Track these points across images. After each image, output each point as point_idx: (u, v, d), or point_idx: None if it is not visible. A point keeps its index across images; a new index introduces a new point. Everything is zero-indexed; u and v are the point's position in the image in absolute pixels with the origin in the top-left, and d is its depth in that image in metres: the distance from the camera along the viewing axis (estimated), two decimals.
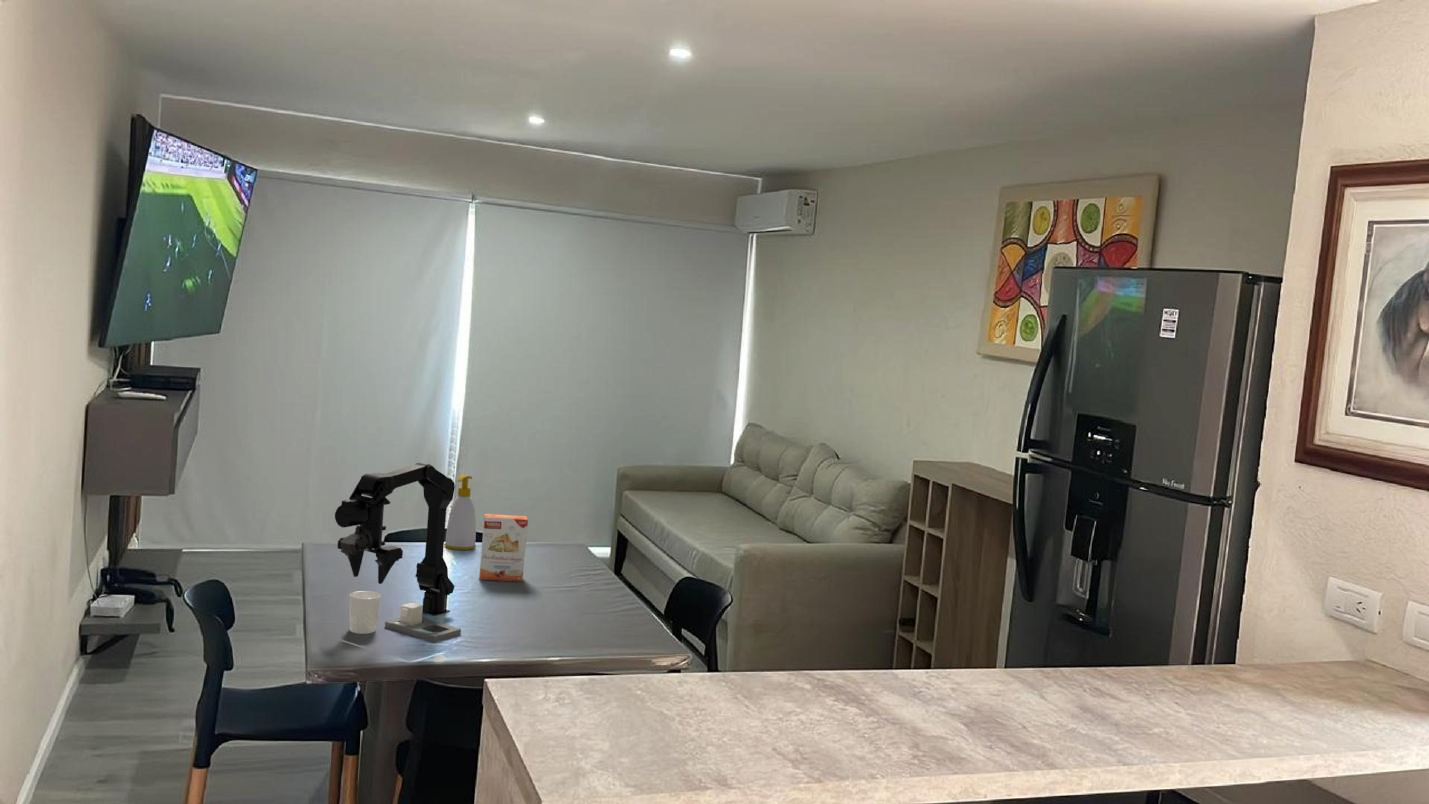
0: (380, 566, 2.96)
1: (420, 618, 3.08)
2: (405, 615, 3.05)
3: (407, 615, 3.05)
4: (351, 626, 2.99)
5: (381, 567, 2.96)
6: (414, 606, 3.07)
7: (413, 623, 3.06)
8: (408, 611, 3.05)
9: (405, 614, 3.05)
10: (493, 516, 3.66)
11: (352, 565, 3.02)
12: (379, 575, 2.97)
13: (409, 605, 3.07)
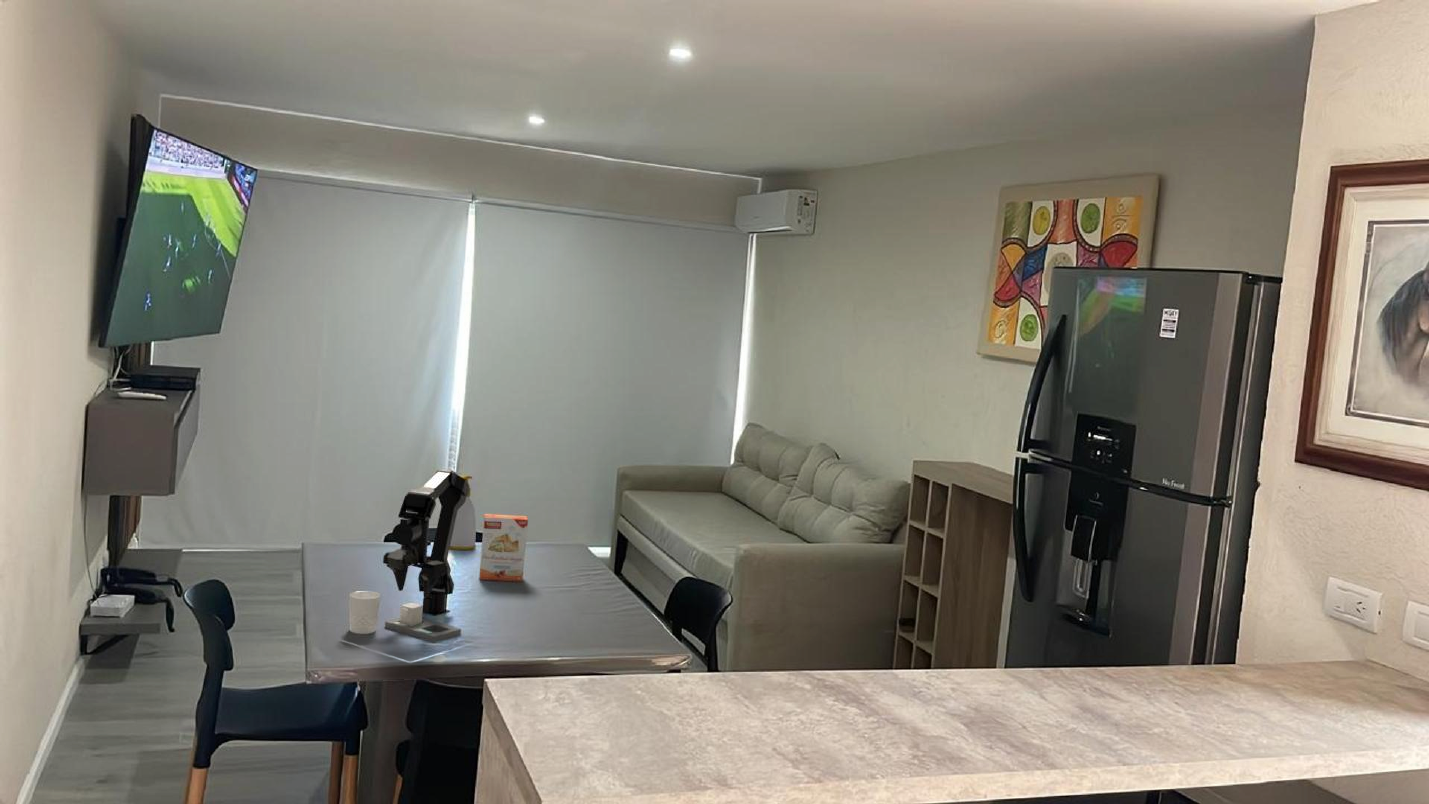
0: (426, 581, 3.03)
1: (420, 618, 3.08)
2: (405, 615, 3.05)
3: (407, 615, 3.05)
4: (351, 626, 2.99)
5: (427, 582, 3.03)
6: (414, 606, 3.07)
7: (413, 623, 3.06)
8: (408, 611, 3.05)
9: (405, 614, 3.05)
10: (493, 516, 3.66)
11: (397, 579, 3.09)
12: (424, 589, 3.04)
13: (409, 605, 3.07)
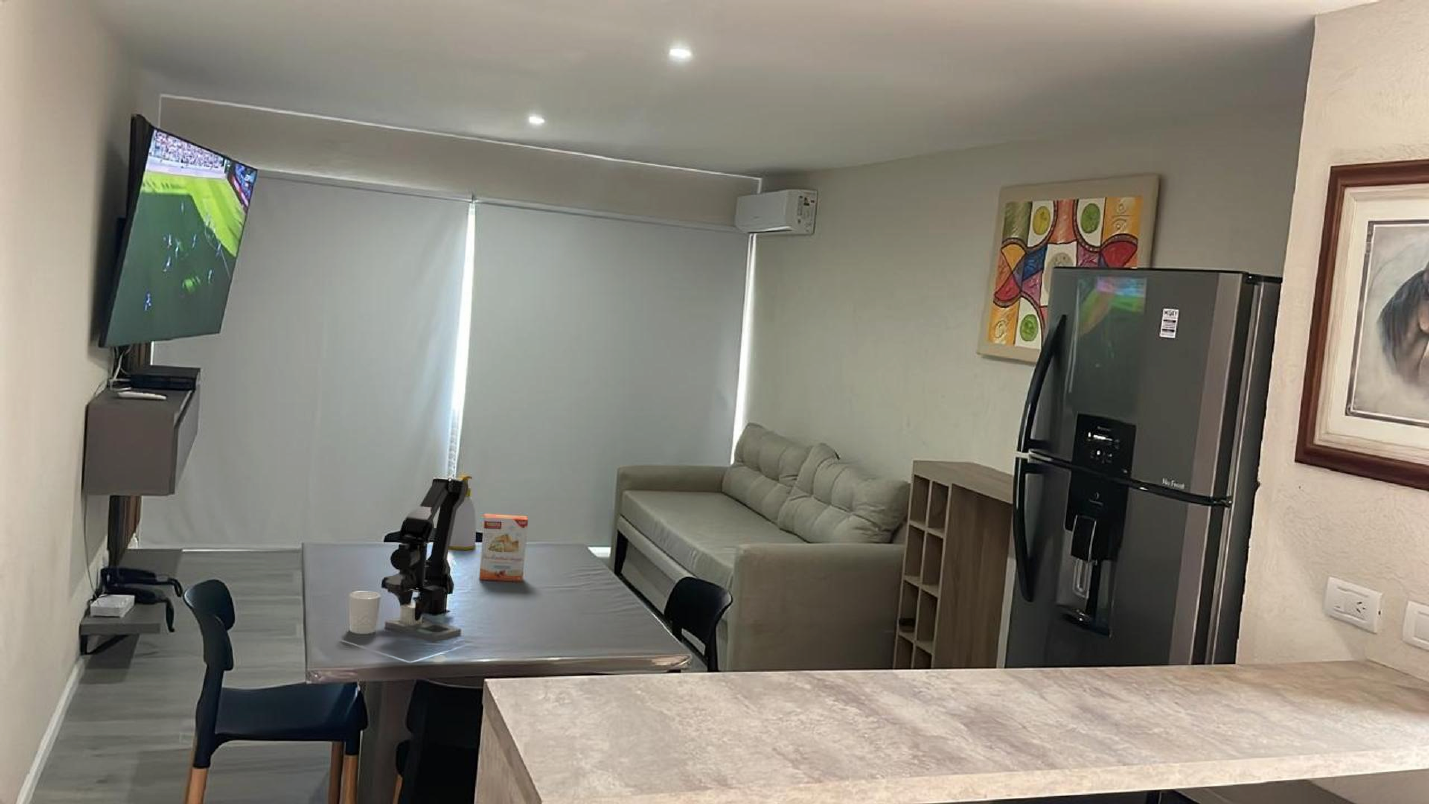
0: (417, 603, 3.05)
1: (420, 618, 3.08)
2: (405, 615, 3.05)
3: (407, 615, 3.05)
4: (351, 626, 2.99)
5: (418, 604, 3.05)
6: (414, 606, 3.07)
7: (413, 623, 3.06)
8: (408, 611, 3.05)
9: (405, 614, 3.05)
10: (493, 516, 3.66)
11: None
12: (416, 612, 3.06)
13: (409, 605, 3.07)
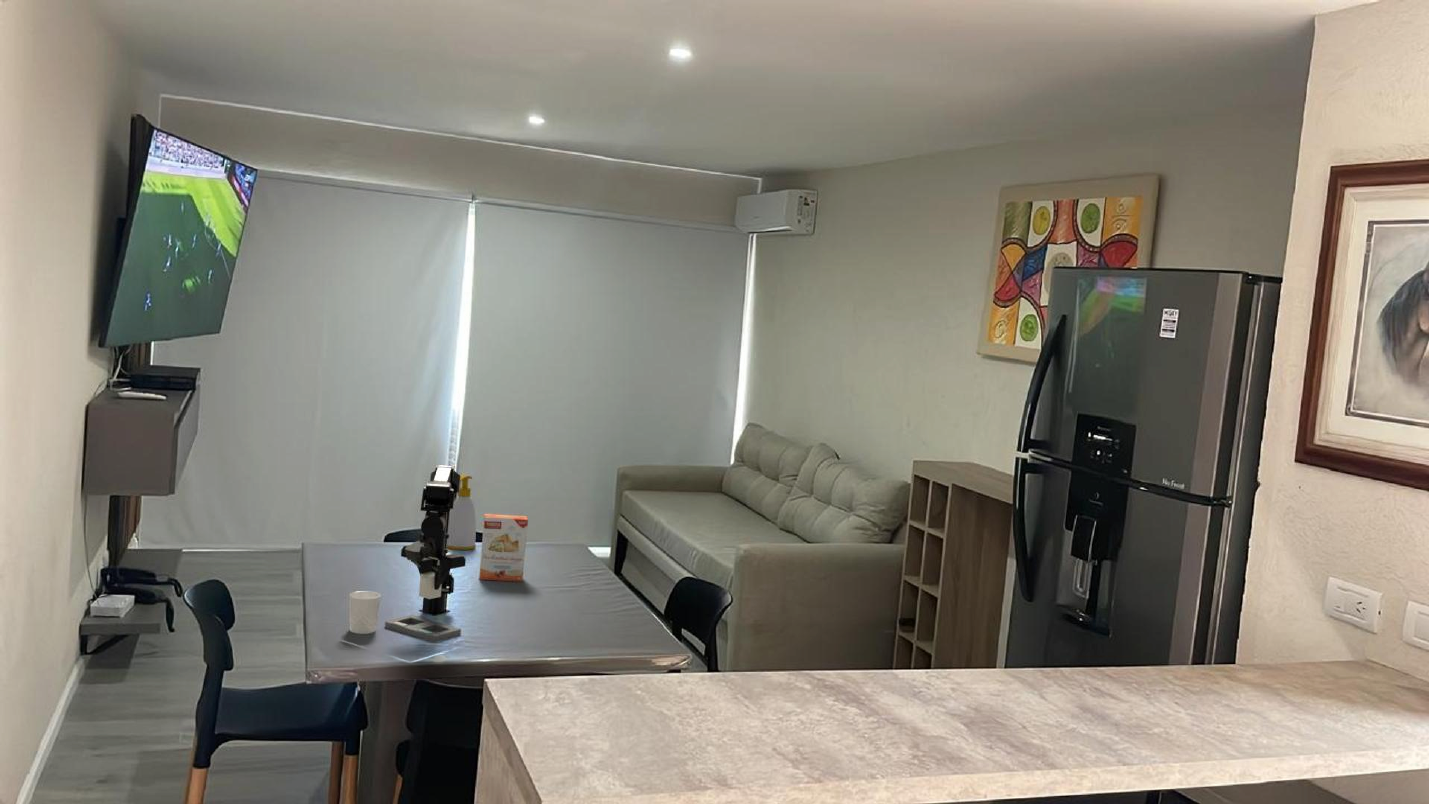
0: (437, 572, 3.00)
1: (439, 587, 3.04)
2: (424, 584, 3.01)
3: (426, 584, 3.01)
4: (351, 626, 2.99)
5: (438, 573, 3.00)
6: (433, 575, 3.03)
7: (432, 592, 3.02)
8: (427, 580, 3.01)
9: (424, 583, 3.01)
10: (493, 516, 3.66)
11: None
12: (435, 581, 3.01)
13: (429, 574, 3.03)
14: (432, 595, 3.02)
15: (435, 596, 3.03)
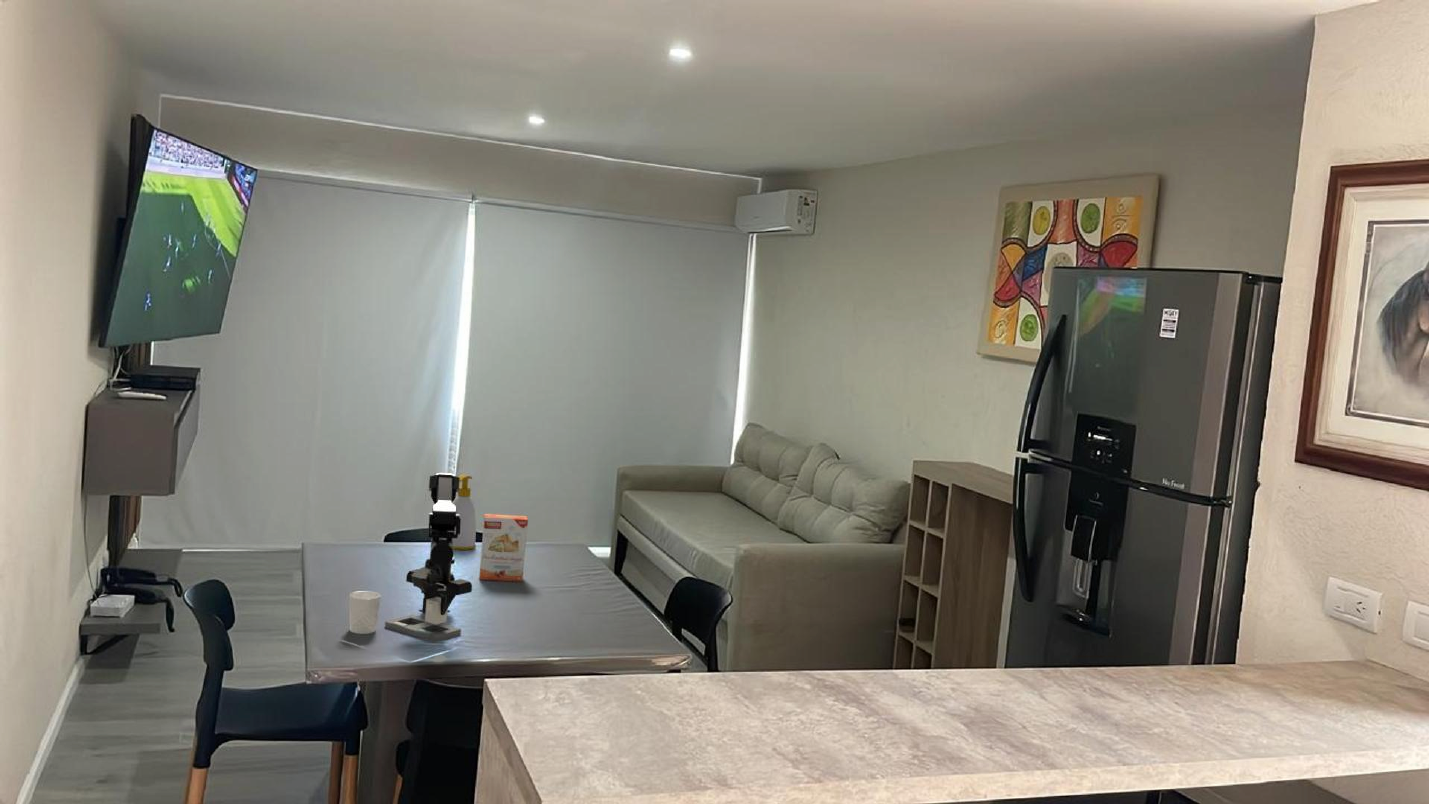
0: (443, 598, 3.00)
1: None
2: (430, 609, 3.00)
3: (433, 609, 3.01)
4: (351, 626, 2.99)
5: (444, 599, 3.00)
6: (439, 600, 3.02)
7: (439, 617, 3.02)
8: (434, 605, 3.01)
9: (430, 608, 3.00)
10: (493, 516, 3.66)
11: None
12: (442, 606, 3.01)
13: (435, 599, 3.03)
14: (438, 620, 3.02)
15: (441, 621, 3.03)
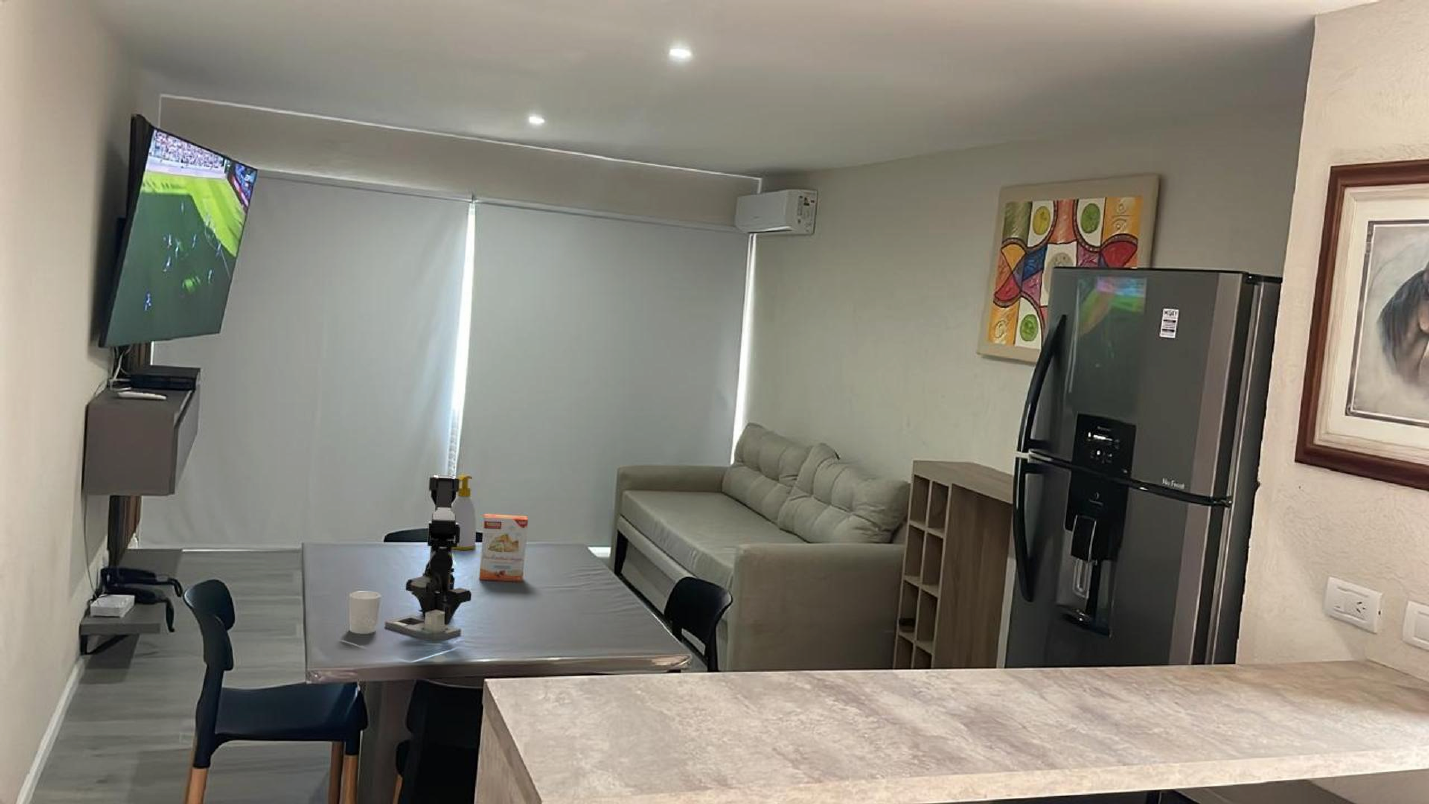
0: (447, 608, 2.99)
1: (444, 625, 3.04)
2: (429, 622, 3.01)
3: (431, 622, 3.01)
4: (351, 626, 2.99)
5: (448, 609, 2.99)
6: (438, 613, 3.03)
7: (437, 630, 3.02)
8: (432, 618, 3.01)
9: (429, 621, 3.01)
10: (493, 516, 3.66)
11: (422, 607, 3.04)
12: (445, 616, 3.00)
13: (434, 612, 3.03)
14: None
15: None
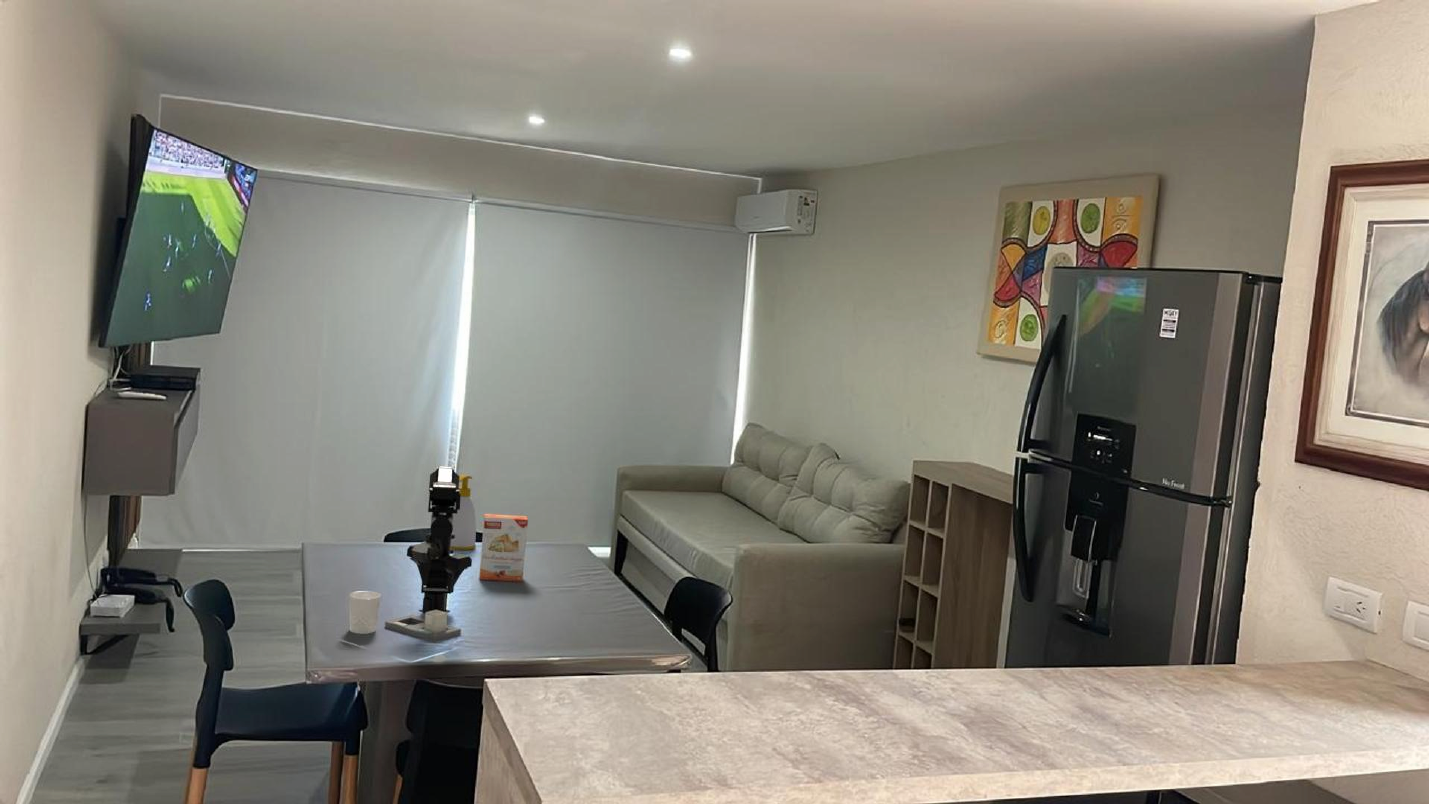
0: (450, 574, 3.02)
1: (444, 625, 3.04)
2: (429, 622, 3.01)
3: (431, 622, 3.01)
4: (351, 626, 2.99)
5: (451, 575, 3.02)
6: (438, 613, 3.03)
7: (437, 630, 3.02)
8: (432, 618, 3.01)
9: (429, 621, 3.01)
10: (493, 516, 3.66)
11: (421, 572, 3.08)
12: (449, 583, 3.03)
13: (434, 612, 3.03)
14: None
15: None
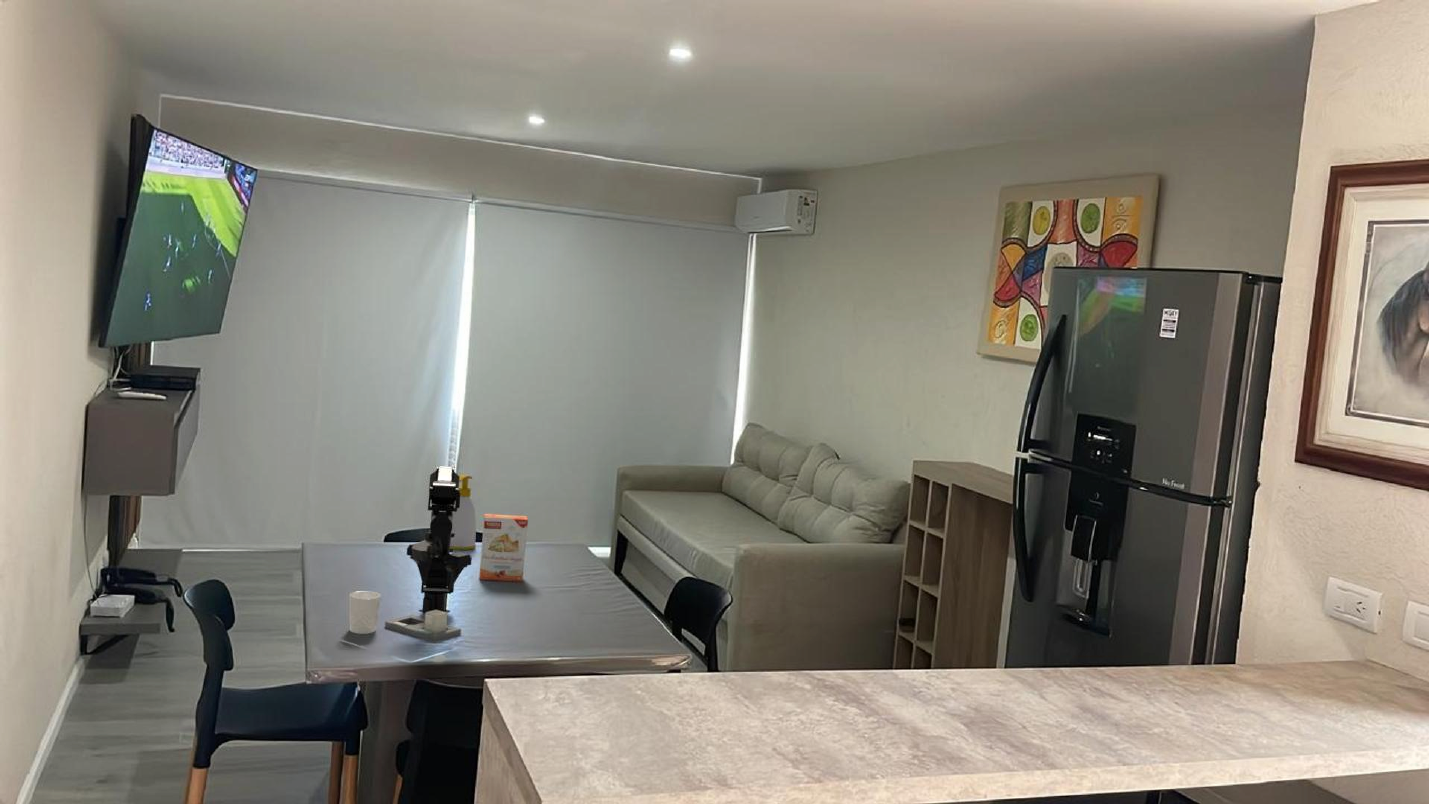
0: (450, 572, 3.03)
1: (444, 625, 3.04)
2: (429, 622, 3.01)
3: (431, 622, 3.01)
4: (351, 626, 2.99)
5: (451, 573, 3.03)
6: (438, 613, 3.03)
7: (437, 630, 3.02)
8: (432, 618, 3.01)
9: (429, 621, 3.01)
10: (493, 516, 3.66)
11: (421, 571, 3.08)
12: (448, 581, 3.04)
13: (434, 612, 3.03)
14: None
15: None
